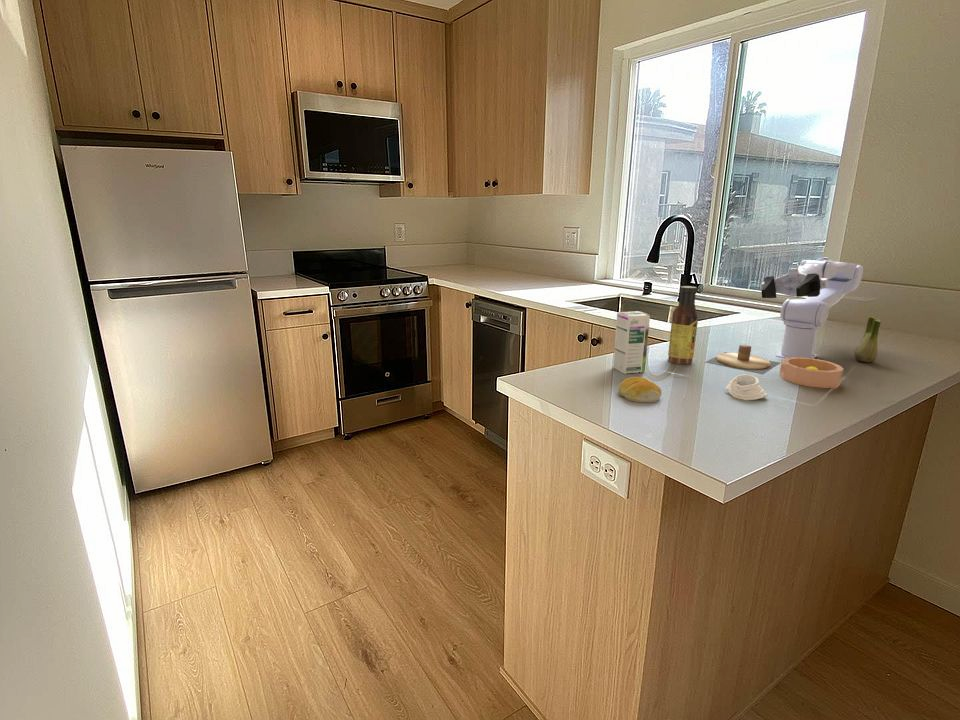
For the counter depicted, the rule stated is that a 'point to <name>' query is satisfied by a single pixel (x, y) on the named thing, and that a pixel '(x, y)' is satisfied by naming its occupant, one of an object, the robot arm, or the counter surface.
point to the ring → (811, 372)
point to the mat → (760, 371)
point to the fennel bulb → (868, 342)
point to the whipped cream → (745, 387)
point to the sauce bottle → (683, 328)
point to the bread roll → (639, 390)
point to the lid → (743, 359)
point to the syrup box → (631, 341)
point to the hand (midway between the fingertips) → (780, 293)
